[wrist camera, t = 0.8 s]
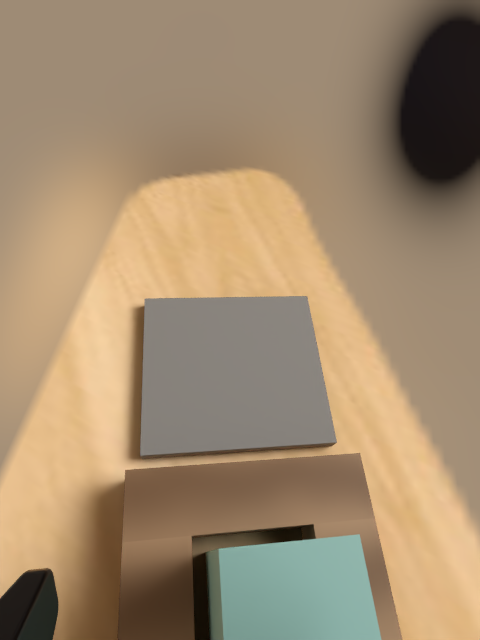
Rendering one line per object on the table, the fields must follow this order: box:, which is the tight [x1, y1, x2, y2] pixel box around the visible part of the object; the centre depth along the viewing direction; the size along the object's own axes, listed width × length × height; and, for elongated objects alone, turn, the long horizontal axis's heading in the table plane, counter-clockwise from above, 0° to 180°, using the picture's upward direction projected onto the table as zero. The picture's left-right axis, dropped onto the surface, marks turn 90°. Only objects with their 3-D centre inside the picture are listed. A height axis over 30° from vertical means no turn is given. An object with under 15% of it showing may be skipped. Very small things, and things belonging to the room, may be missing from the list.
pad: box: [140, 296, 337, 459], centre depth 25 cm, size 10×11×1 cm
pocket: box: [118, 453, 402, 640], centre depth 19 cm, size 12×12×2 cm
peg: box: [206, 534, 381, 640], centre depth 16 cm, size 4×4×10 cm
